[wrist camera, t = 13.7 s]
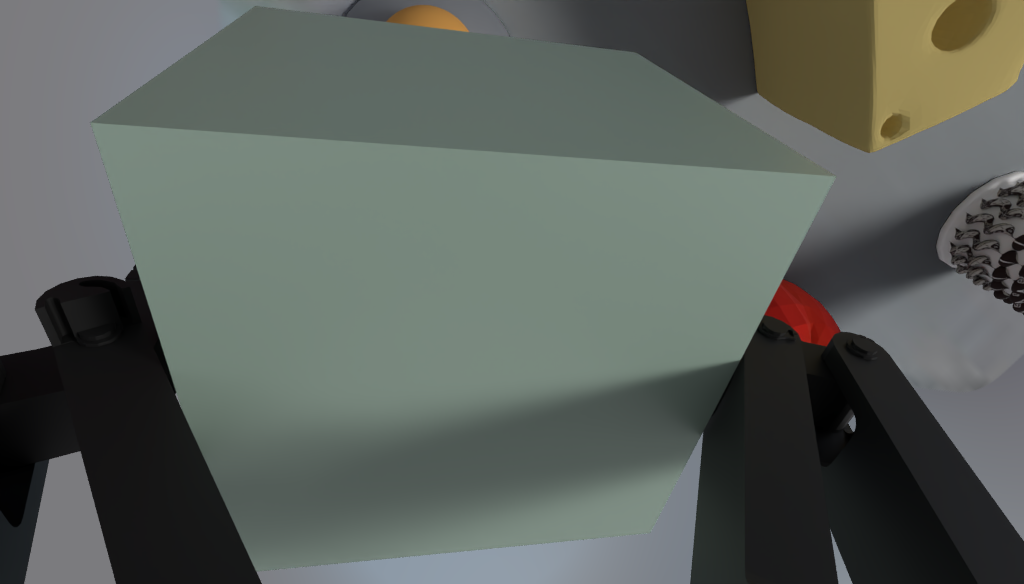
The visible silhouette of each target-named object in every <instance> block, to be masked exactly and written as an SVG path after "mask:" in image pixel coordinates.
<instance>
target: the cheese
mask: <svg viewBox="0 0 1024 584" xmlns="http://www.w3.org/2000/svg"><path fill="white" fill-rule="evenodd" d="M746 4H747V10H748V16H749V22H750V28H751V37H752V45H753V54H754V63H755V74H756V84H757V92H758V93H759V95H761V96H762V97H763V98H765V99H766V100H767V101H769V102H770V103H772V104H773V105H775V106H776V107H778V108H780V109H781V110H783V111H784V112H786V113H788V114H790V115H791V116H793V117H795V118H797V119H799V120H801V121H803V122H806V123H808V124H810V125H812V126H814V127H816V128H817V129H819V130H821V131H823V132H824V133H826V134H828V135H830V136H832V137H834V138H836V139H838V140H840V141H842V142H844V143H846V144H848V145H850V146H853V147H855V148H857V149H860V150H862V151H865V152H867V153H871V152H875V151H878V150H880V149H882V148H884V147H886V146H889V145H891V144H893V143H896V142H898V141H901V140H903V139H905V138H907V137H910V136H912V135H914V134H916V133H918V132H920V131H923V130H925V129H928V128H930V127H933V126H935V125H937V124H939V123H941V122H943V121H945V120H948V119H950V118H952V117H954V116H956V115H958V114H960V113H962V112H964V111H967V110H969V109H971V108H973V107H975V106H977V105H979V104H981V103H983V102H985V101H987V100H989V99H991V98H993V97H995V96H997V95H999V94H1001V93H1003V92H1005V91H1006V90H1008V89H1009V88H1010V87H1011V86H1012V85H1013V84H1014V83H1015V82H1016V81H1017V79H1018V76H1019V73H1020V70H1021V68H1022V66H1023V63H1024V0H746Z"/></svg>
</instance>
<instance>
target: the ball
mask: <svg viewBox="0 0 1024 584" xmlns="http://www.w3.org/2000/svg"><path fill="white" fill-rule="evenodd" d="M386 22H390V23H399V24H407V25H415V26H423V27H431V28H440V29H448V30H456V31H464V32H469V31H468V29H467V28H466V27H465V25H464V24H463V23H462V22H461V21H460V20H459V19H458V18H457V17H455V16H454V15H453V14H451V13H450V12H448V11H446V10H444V9H441V8H439V7H435V6H431V5H415V6H410V7H407V8H404V9H402V10H400V11H398V12H397V13H395V14H394V15H393V16H391V17H390V18H389V19H388V20H387V21H386Z"/></svg>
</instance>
